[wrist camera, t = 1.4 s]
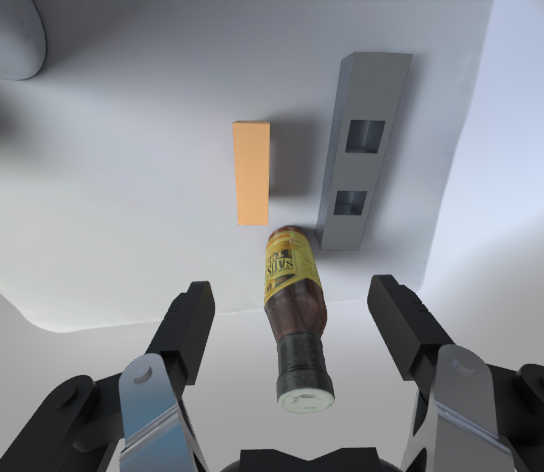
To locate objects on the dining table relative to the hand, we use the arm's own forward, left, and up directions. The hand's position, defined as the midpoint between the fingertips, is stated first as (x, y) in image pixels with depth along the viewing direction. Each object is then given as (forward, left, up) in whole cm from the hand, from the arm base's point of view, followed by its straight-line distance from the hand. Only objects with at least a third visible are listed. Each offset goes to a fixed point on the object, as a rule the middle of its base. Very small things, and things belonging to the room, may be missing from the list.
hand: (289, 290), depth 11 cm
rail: (+8, +2, -19) cm, 21 cm away
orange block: (-3, +2, -19) cm, 19 cm away
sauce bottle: (+2, -9, -19) cm, 21 cm away
